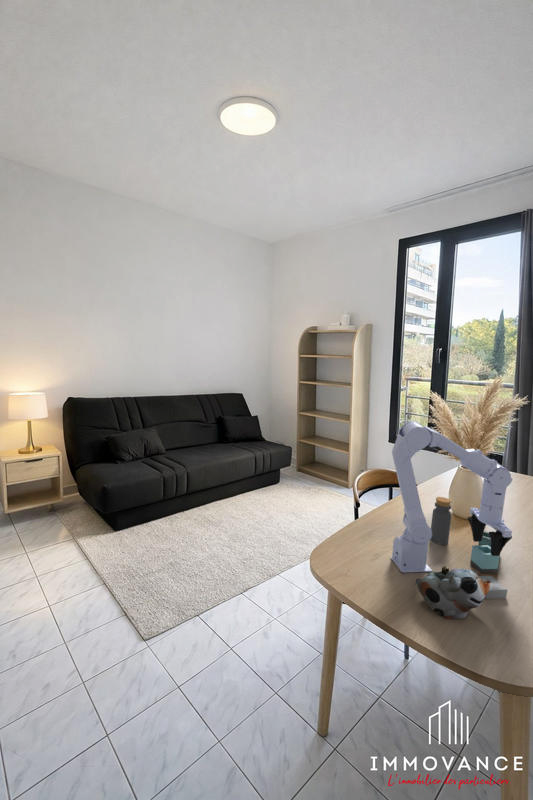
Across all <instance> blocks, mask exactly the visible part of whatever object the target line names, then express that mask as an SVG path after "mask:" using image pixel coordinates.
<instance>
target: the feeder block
mask: <svg viewBox="0 0 533 800" xmlns="http://www.w3.org/2000/svg"><path fill="white" fill-rule="evenodd" d="M479 577H480V578H481V579H483V580H489V581H491V583H490V589H489V592H488V593H487V594H486V595H485V598H484V599H485V600H490V599H496V600H497V599H506V598H507V596H508V595H507V594H508V589H507V588H506V587H505V586H504V585H503V584H502V583H500V582H499V581H498V580H497V578H496V579H495V578H493V577H492V576H479Z"/></svg>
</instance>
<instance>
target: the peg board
mask: <svg viewBox="0 0 533 800" xmlns="http://www.w3.org/2000/svg"><path fill="white" fill-rule="evenodd" d="M489 532H490V531H485V530H484V532H483V537H482V540H481V542H478V544H477V545H488V546H490V547H491V538H490V535H489ZM500 559H501V557H500V558H499V560H500ZM468 569H469V570H471V571H473V572H474V573H476V574H477V575H478V576H492V577H493V578H495V579H496V580H497V577H498V573H497V574H481V573H480V572H479V571H478V570H476V569H475V568H474V567H473V566H472V565H471V564H469V567H468Z"/></svg>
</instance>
